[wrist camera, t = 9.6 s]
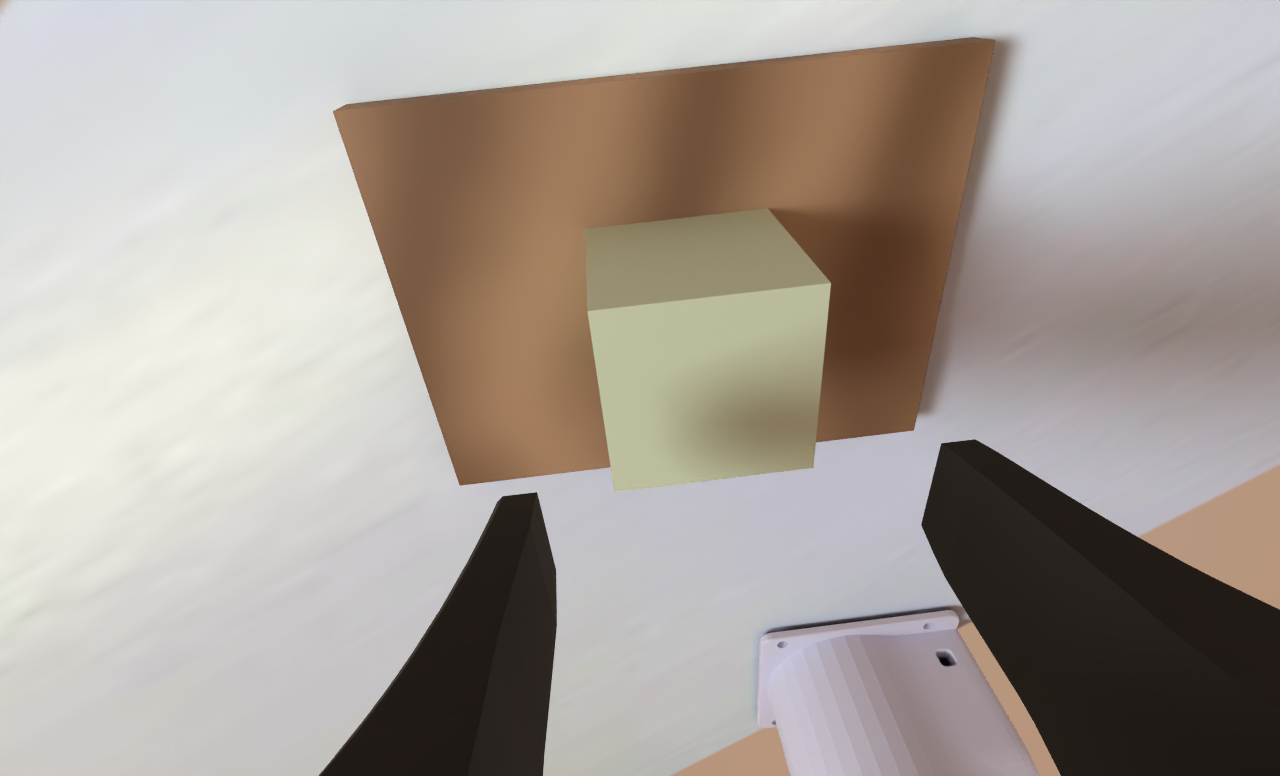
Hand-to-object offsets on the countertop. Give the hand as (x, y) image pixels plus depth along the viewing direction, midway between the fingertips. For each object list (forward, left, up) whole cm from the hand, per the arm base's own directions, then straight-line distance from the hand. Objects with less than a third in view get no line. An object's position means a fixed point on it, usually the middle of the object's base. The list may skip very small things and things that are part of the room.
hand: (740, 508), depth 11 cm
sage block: (0, 0, -8) cm, 8 cm away
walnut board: (0, 0, -9) cm, 9 cm away
